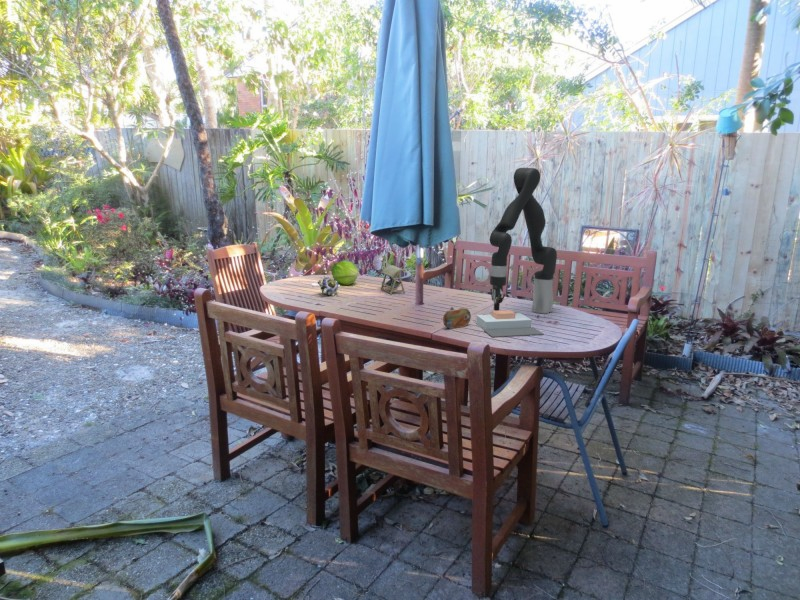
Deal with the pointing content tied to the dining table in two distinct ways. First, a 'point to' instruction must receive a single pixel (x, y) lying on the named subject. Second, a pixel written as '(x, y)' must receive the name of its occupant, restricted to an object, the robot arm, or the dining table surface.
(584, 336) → the dining table surface
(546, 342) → the dining table surface
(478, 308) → the dining table surface
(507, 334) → the mat
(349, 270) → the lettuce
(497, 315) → the peach rectangular block
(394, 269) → the swing bench
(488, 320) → the plate
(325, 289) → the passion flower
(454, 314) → the tin
